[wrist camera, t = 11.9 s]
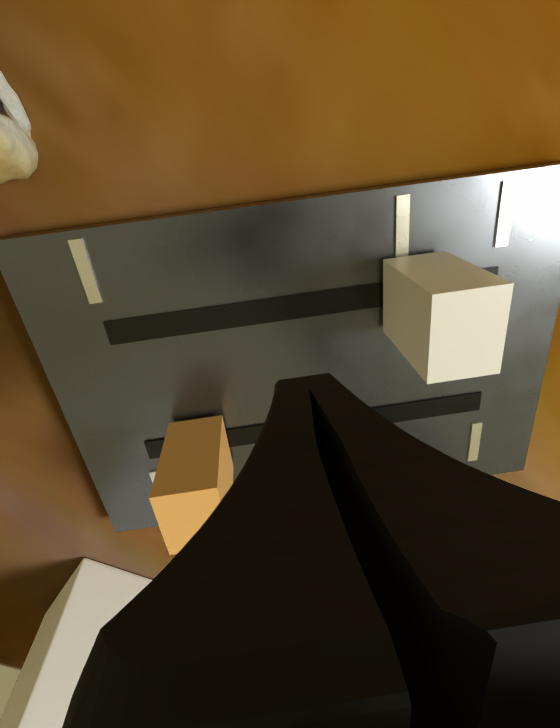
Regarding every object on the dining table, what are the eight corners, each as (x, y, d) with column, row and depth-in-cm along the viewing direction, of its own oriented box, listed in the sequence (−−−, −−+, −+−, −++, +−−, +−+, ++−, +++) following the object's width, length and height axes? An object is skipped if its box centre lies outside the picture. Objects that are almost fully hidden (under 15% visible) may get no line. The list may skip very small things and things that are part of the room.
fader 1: (233, 466, 20) (231, 545, 16) (184, 473, 20) (169, 554, 16) (221, 415, 18) (216, 487, 14) (168, 422, 18) (148, 498, 14)
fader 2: (439, 322, 17) (500, 373, 13) (383, 330, 17) (426, 384, 13) (444, 251, 16) (513, 283, 12) (383, 259, 16) (432, 294, 12)
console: (510, 455, 23) (524, 471, 22) (121, 514, 22) (115, 534, 21) (566, 160, 16) (591, 160, 15) (5, 235, 15) (-14, 242, 14)
